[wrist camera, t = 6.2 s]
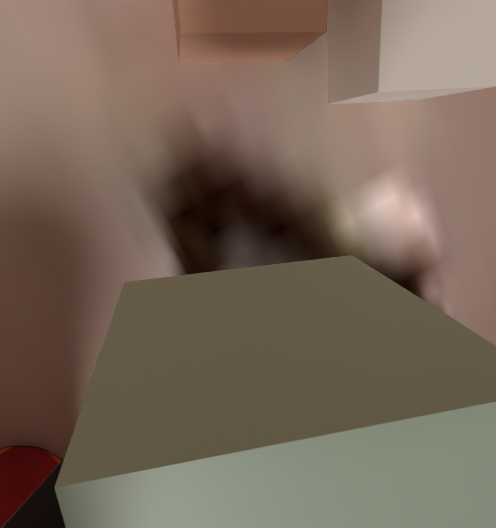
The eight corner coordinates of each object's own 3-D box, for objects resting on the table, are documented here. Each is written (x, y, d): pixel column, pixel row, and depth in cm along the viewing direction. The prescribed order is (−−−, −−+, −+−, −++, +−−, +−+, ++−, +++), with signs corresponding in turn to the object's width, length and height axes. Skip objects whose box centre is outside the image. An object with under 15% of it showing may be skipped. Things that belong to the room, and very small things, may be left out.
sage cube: (352, 255, 9) (563, 388, 4) (346, 433, 10) (494, 680, 6) (124, 281, 8) (54, 486, 3) (157, 470, 9) (142, 794, 5)
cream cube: (427, -15, 18) (517, -70, 13) (419, 99, 20) (496, 86, 15) (327, -15, 17) (385, -73, 13) (327, 104, 19) (378, 91, 14)
